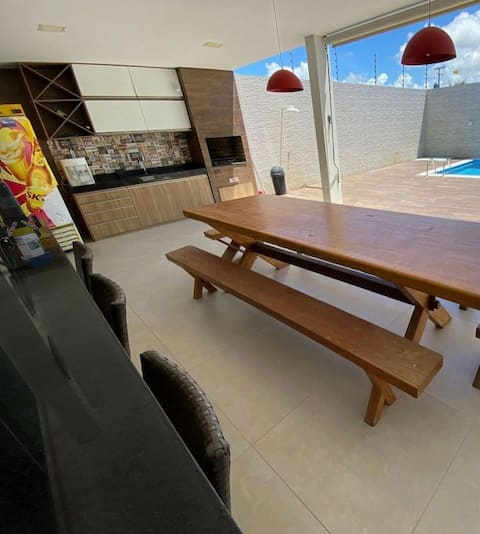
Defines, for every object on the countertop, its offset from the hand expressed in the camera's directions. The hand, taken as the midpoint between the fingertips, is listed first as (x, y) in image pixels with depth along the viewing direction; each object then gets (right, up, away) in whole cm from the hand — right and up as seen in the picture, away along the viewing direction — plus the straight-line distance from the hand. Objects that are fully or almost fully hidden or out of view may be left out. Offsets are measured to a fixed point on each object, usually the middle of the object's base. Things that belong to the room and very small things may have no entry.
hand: (27, 240), depth 143 cm
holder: (+1, -11, +5) cm, 12 cm away
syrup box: (+1, -11, +5) cm, 12 cm away
